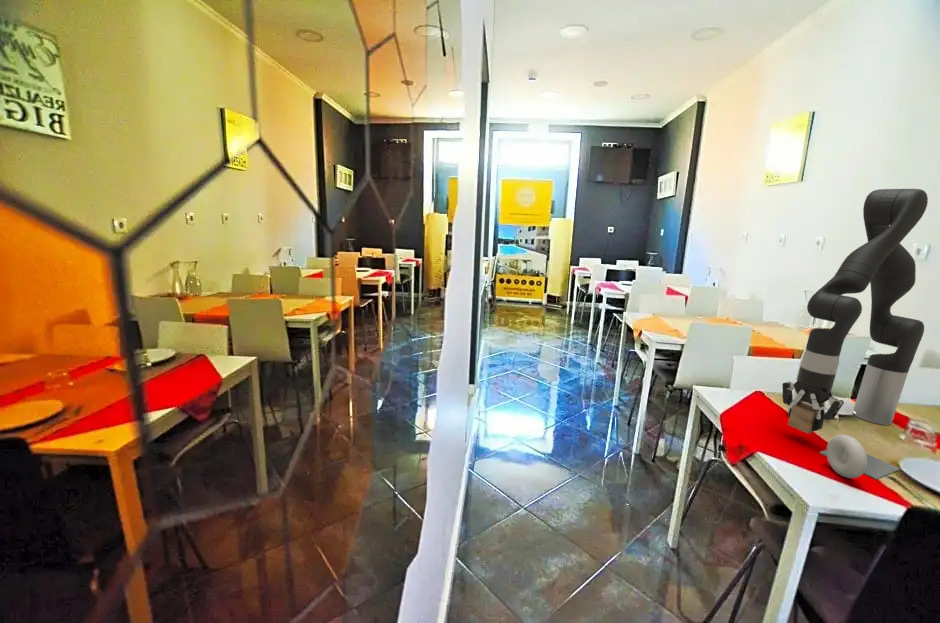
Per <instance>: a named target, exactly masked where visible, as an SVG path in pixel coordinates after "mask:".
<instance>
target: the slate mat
mask: <svg viewBox="0 0 940 623" xmlns="http://www.w3.org/2000/svg"><path fill="white" fill-rule="evenodd" d="M819 455H822V456H825V457H827V449H825V450H821V451H819ZM866 455H867V467H866V469H865V471H864V473H863V474H862V475H864V476H868V477H870V478H872V479H874V480H879V479H882V478H884V477H887V476H888V475H892V474H893V473H896V472H898V471H900V470H901V469H899V468H900V467H898V466H896V465H894V464H892V463H888V462H887V461H885V460H882V459H879V458H877V457H875V456H872V455H870V454H868V453H866ZM844 456H845V460H846V462H847V461H848V455H847V452H846V450H845V453H844Z"/></svg>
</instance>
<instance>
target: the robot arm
mask: <svg viewBox="0 0 940 623" xmlns="http://www.w3.org/2000/svg"><path fill="white" fill-rule="evenodd" d="M928 200H929V198H928V194H927V192H926V191H924V189H920V188H882V189H881V188H879V189H875V190H873V191H871V192H869V193H868V195H867V196H866V197H865V201H864V203H863V208H862V209H863V210H862V212H863V213H862V214H863V222H864V228H865V233H866V237H867V242H866V243H864V244H862V245H860V246H859V247H857V248H856V249H854V250H853V251H852V252H850V254H848V255H847V256H846V257H845V259H844V260H843V262H842V263H841V265H840V267H839V268H838V269H837V271H836V273H835V274H834V276H833V277H832V278H831V279H830V280H828V281H827V282H826V283H825V284H824V285H823V286H822V287H821V288H819V289H818V290H817V291H816V292H815V293H814V294H813V295H812V296H811V297H810V298H809V300H808V302H807V307H806V308H807V313H808V314H809V316H811V317H813V318H814V319H819V320H823V321H828V322H831V323H834V324H833V326H832V327H831V328H827V327H826V328H825V327H824V328H823V327H818V328H813V329H811V330H810V331H809V335H808V338H807V343H806V346H805V350H804V352H803V355H802V357H801V360H800V362H801V365H800V369H799V373H798V377H797V382H796V383H795V382H791V381H786V382H783V383H782V403H783V404H784V405H785V404H786V405H787V406H788V405H789V407H790V410H789V413H788V414H787V418H788V419H789V418H790V414H791V410H792V406H793V405H795V404H796V405H797V404H799V403H800V404H801V403H802V402H808V403H809V404H811V405H813V410H814V411H815V412H816V414H815V417H816V418H815V419H814V422H813V426H812V430H813V431H814V432H817V431H820V430H822V429H823V425H824V421H825V420H826V421H830V420H833V419H835V417H836V415H838V413H839V411H840V410H841V408H842V406H843V405H844V403H845V402H844V400H842V399H837V398H836V397H834V396H833V395H832V390H833V386H834V382H835V379H836V375H837V371H838V368H839V363H840V355H841V351H842V348H843V344H844V341H845V339H846V338H847V336H848V334H849V332H850V330H851V329H852V327H853V326H854V324H855V323H857V320H858V319H859V318H860V316H861V314H862V311H863V310H862V309H863V307H862V303H861V301H860V300H859V299H858V298H857V297H854V296H848V295H849V294H860V293H863V292H864V291H865V290H866V289H867V287H868V286H869V285H870V296H871V297H870V298H871V299H870V300H871V305H870V306H871V307H870V308H871V309H870V321H869V336H870V339H871V340H872V341H874V342H876V343H878V344H882V345H885V346H890V347H894V348H896V350H895V352H893V353H892V352H891V353H874V354H871V355H869V357H868V359H867V363H866V365H865V366H866V367H865V371H864V374H863V377H862V380H861V383H860V386H859V390H858V393H857V397H856V400H855V403H854V406H853V409H854V411H855V412H856V414H855V415H854V416H855V417H857V418H859V419H861V420H864V421H866V422H869V423H874V424H877V425H884V426H889V425H892V423H893V421H894V418H895V413H896V411H897V408H898V405H899V402H900V399H901V396H902V393H903V389H904V386H905V383H906V380H907V377H908V373H909V371H910V368H911V366H912V364H913V361H914V359H915V356H916V353H917V351H918V348H919V345H920V344H921V341H922V338H923V335H924V333H925V324H924V322H923V321H921V320H919V319H916V318H911V317H904V316H899V315H893V314H892V312H891V308H892V307H893V305H895V303H897V301H898V300H900V299H901V298H902V297H904V296H905V295H906V294H907V293H909V292H910V291H911V290H912V288H913V287H914V286H915V283H916V272H917V271H916V269H917V268H916V261H915V258H914V257H913V256H912V255H911V253H910V252H909V251H908V249H906V248H905V247H904V246H903V245H902V244H901V242H903V240H904V239H905V238H906V236H907V235H908V234H909V233H910V232H911V231H912V230H913V228H915V226H917V224H918V222H920V221H921V219H922V217H923V216H924V214H925V212H926V210H927V207H928V202H929V201H928ZM794 388H795V390H796V393H797V396H796V397H795V398H794V399H793V391H794ZM827 401H829V403H828V404H829V408H828V410H827V411H826V403H825V402H827Z"/></svg>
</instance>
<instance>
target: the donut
mask: <svg viewBox="0 0 940 623" xmlns="http://www.w3.org/2000/svg"><path fill="white" fill-rule="evenodd" d="M826 450H827V461H828V464H829V465H830V467H831V468H832V469H833V471H834V472H835V473H836V474H838V475H839V476H841V477H843V478H846V479H856V478H859V477H861V476H862V475H864V474H863V473H864V471H865V469H866V467H867V455H866V454H867V453H866V450H865V448H864V447H863V445H862V444H861V443H860V442H859V441H858V440H857V439H856V438H855V437H852V436H850V435H848V434H837V435H835V436H833V437H832V438H831V439H830V440H829V441H828V443H827V445H826ZM845 450H846V452H847V455H848V461H847V462H846V460H845V456H844V453H845Z"/></svg>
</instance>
